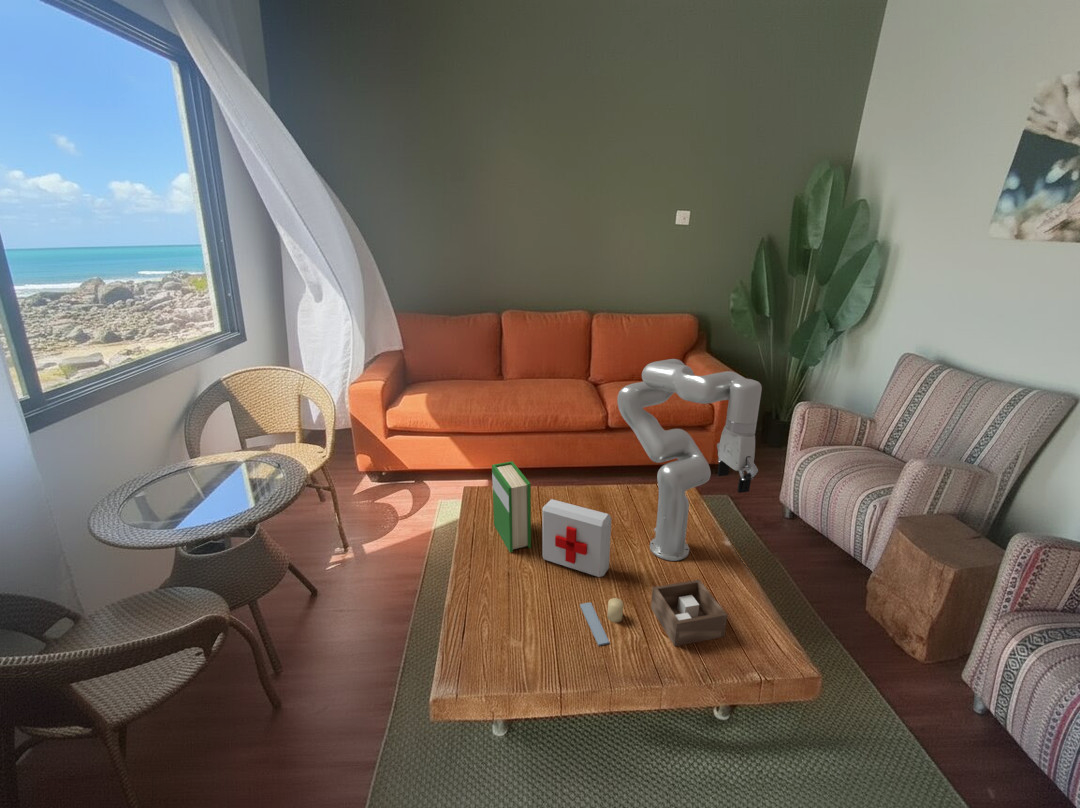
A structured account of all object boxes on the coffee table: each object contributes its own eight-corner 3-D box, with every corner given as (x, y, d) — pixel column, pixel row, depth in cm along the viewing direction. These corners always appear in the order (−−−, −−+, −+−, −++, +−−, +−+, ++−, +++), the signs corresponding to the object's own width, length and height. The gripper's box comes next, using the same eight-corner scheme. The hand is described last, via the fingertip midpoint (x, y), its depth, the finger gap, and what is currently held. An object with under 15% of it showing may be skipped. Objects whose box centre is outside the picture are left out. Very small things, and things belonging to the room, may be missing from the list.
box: (650, 610, 143) (652, 587, 140) (696, 602, 146) (699, 579, 143) (674, 649, 130) (676, 623, 127) (723, 639, 133) (727, 614, 130)
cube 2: (672, 627, 136) (673, 615, 134) (686, 624, 136) (687, 612, 135) (679, 638, 132) (681, 626, 131) (693, 635, 133) (695, 623, 131)
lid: (579, 607, 145) (580, 589, 143) (629, 598, 148) (630, 580, 146) (598, 647, 131) (599, 628, 129) (652, 636, 135) (653, 618, 132)
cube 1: (677, 608, 142) (678, 597, 141) (690, 606, 143) (691, 594, 142) (684, 619, 138) (685, 607, 137) (697, 616, 139) (699, 604, 138)
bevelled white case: (538, 563, 163) (538, 508, 156) (550, 549, 170) (550, 496, 163) (600, 583, 154) (603, 525, 147) (610, 568, 160) (613, 512, 154)
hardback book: (531, 548, 171) (530, 483, 163) (510, 553, 168) (508, 488, 160) (513, 521, 186) (512, 461, 178) (494, 525, 183) (491, 464, 175)
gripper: (710, 415, 142) (704, 470, 148) (747, 439, 127) (738, 500, 132) (734, 413, 144) (727, 468, 150) (774, 436, 128) (764, 497, 134)
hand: (732, 483), depth 141 cm, fingers open, 9 cm apart
